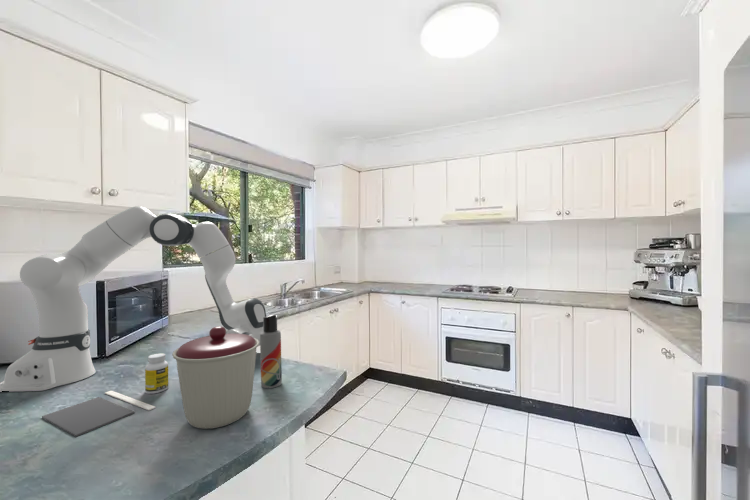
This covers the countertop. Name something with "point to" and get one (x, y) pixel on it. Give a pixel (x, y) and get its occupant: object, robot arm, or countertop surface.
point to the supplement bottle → (156, 374)
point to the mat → (87, 416)
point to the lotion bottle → (270, 353)
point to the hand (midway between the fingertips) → (198, 352)
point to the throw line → (130, 400)
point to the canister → (216, 377)
